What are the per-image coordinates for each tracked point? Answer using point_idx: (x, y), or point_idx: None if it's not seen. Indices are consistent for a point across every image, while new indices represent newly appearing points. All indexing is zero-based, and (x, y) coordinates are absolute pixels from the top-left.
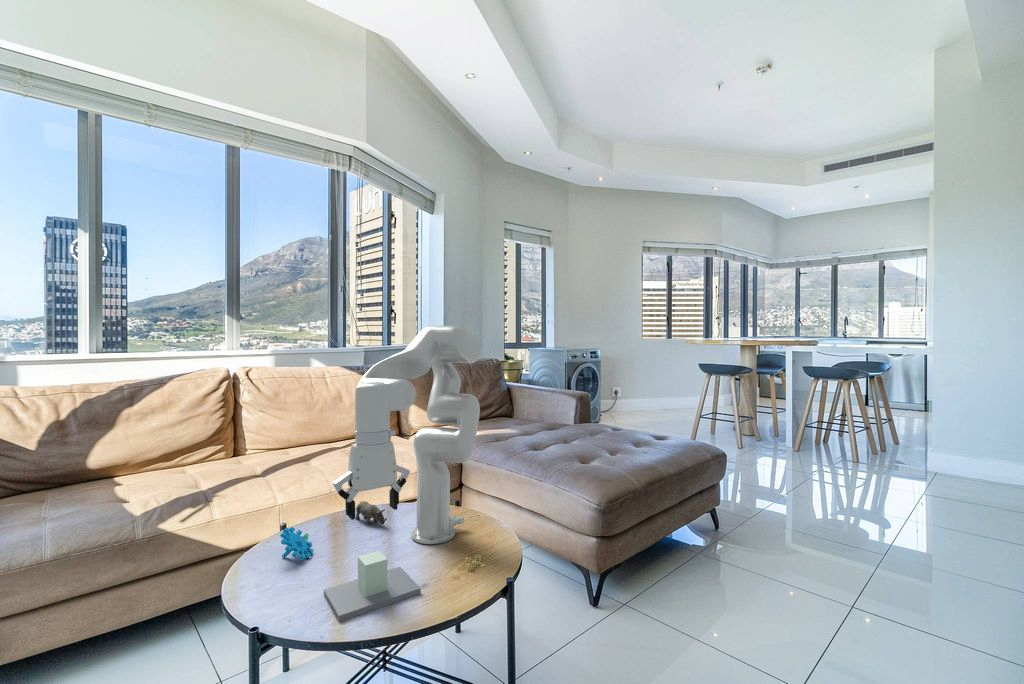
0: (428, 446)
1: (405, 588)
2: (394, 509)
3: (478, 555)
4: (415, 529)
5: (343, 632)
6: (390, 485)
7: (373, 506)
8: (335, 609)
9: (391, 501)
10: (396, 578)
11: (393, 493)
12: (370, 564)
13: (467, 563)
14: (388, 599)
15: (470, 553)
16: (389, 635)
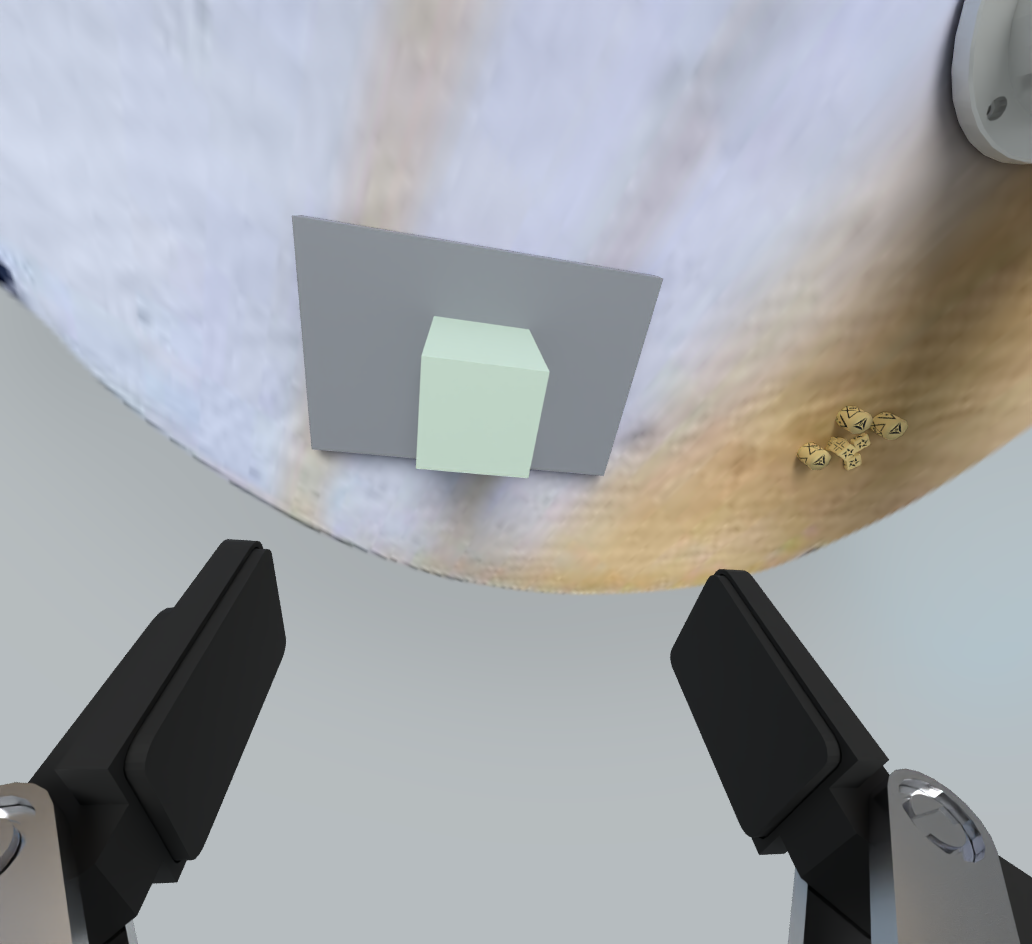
0: None
1: (567, 446)
2: (679, 644)
3: (899, 428)
4: None
5: (318, 492)
6: (877, 890)
7: None
8: (309, 407)
9: (722, 665)
10: (586, 364)
11: (757, 823)
12: (442, 469)
13: (839, 422)
14: None
15: (928, 355)
16: (422, 567)
